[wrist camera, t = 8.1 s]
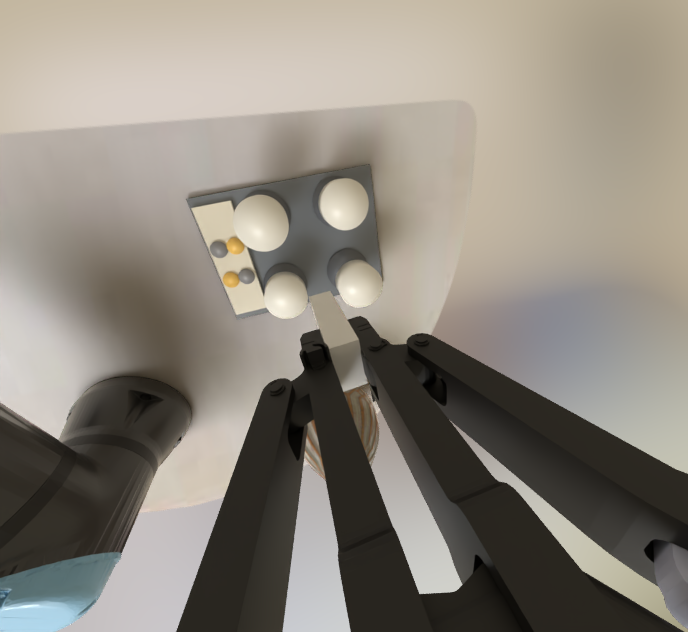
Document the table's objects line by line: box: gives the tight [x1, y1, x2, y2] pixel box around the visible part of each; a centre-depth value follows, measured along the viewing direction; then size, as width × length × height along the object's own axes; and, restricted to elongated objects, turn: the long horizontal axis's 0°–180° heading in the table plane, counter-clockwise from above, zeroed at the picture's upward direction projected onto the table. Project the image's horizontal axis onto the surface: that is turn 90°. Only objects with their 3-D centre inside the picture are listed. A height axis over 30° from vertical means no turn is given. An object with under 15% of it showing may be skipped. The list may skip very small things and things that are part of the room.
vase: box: [304, 387, 379, 481], centre depth 40 cm, size 13×13×18 cm
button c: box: [336, 260, 383, 308], centre depth 32 cm, size 5×5×5 cm
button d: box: [318, 178, 369, 230], centre depth 30 cm, size 5×5×5 cm
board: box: [186, 164, 382, 320], centre depth 34 cm, size 22×16×2 cm
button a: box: [264, 272, 308, 319], centre depth 33 cm, size 5×5×5 cm
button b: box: [233, 195, 289, 252], centre depth 27 cm, size 5×5×5 cm
